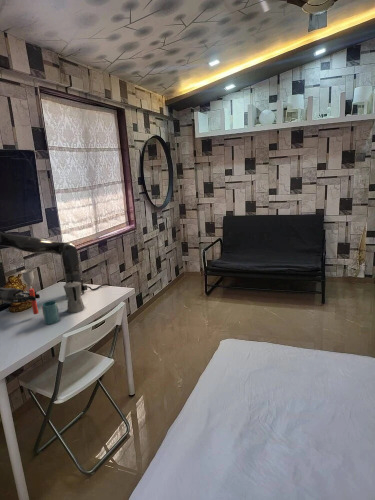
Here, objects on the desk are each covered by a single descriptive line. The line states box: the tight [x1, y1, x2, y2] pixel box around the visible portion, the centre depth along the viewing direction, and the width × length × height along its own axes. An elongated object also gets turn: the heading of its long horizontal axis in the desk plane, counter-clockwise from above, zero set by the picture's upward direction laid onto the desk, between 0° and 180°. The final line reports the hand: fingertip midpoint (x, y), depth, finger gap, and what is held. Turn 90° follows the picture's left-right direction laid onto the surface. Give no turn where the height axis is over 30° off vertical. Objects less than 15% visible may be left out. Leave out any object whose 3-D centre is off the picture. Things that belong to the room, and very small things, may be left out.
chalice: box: [20, 268, 35, 289], centre depth 206 cm, size 7×7×18 cm
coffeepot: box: [63, 279, 85, 314], centre depth 183 cm, size 15×9×18 cm, turn 25°
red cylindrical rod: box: [28, 287, 39, 315], centre depth 177 cm, size 2×2×14 cm
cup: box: [41, 300, 61, 325], centre depth 172 cm, size 7×7×10 cm
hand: (37, 297), depth 176 cm, fingers closed on red cylindrical rod, 2 cm apart
